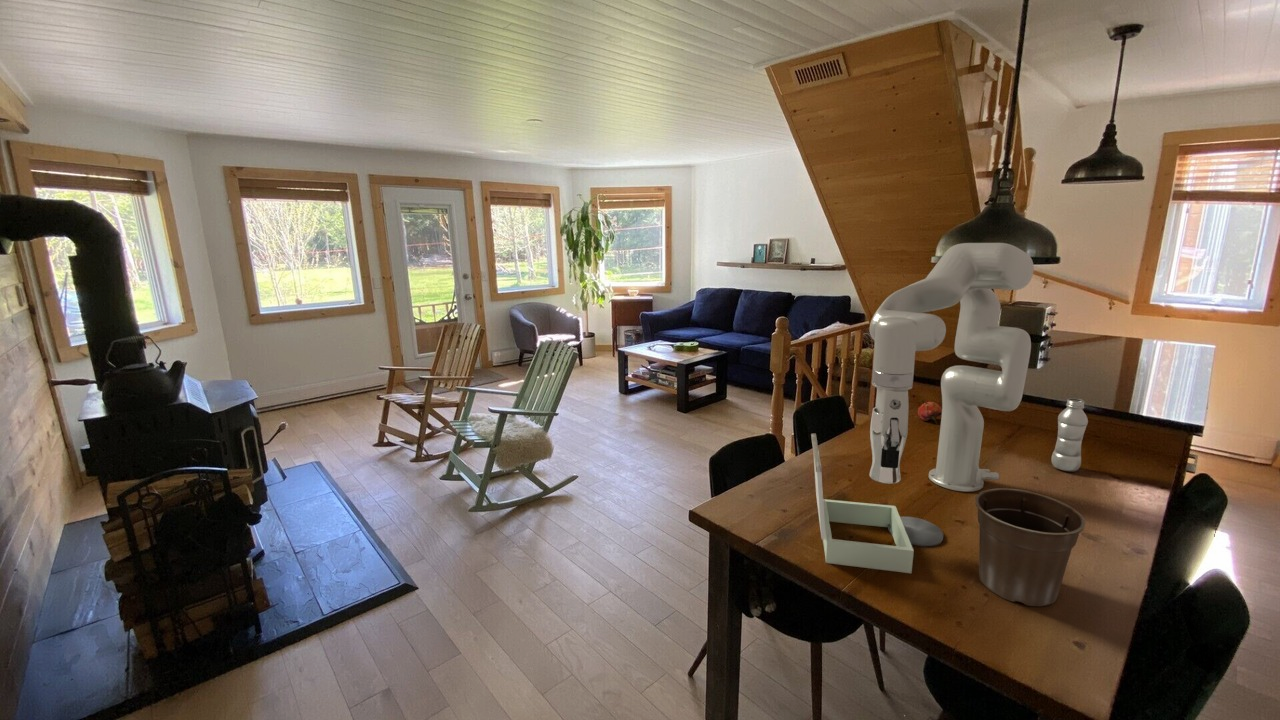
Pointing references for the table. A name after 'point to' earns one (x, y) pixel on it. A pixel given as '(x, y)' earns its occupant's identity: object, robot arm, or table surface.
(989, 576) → the plant pot
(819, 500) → the lid
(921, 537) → the grey round coaster
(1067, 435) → the plastic bottle
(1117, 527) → the table surface
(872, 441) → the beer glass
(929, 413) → the pomegranate
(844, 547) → the frame
